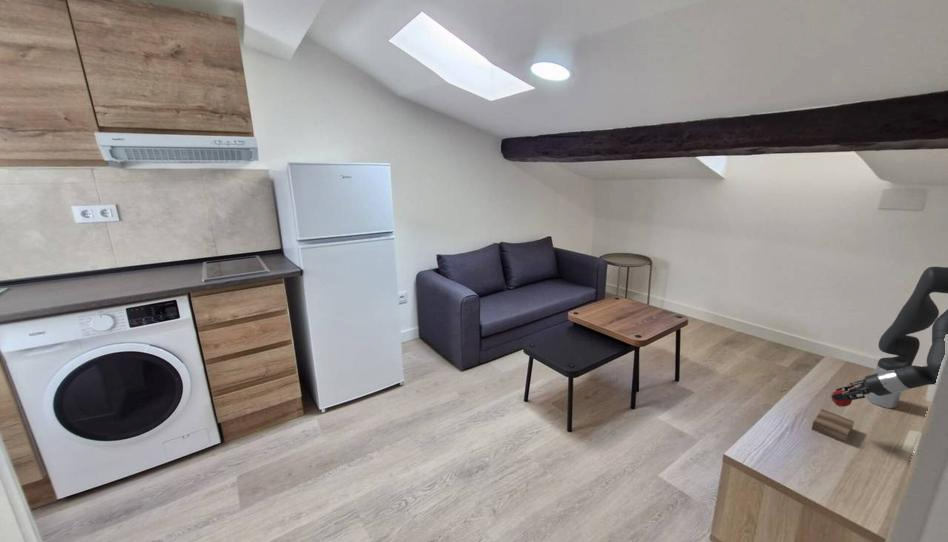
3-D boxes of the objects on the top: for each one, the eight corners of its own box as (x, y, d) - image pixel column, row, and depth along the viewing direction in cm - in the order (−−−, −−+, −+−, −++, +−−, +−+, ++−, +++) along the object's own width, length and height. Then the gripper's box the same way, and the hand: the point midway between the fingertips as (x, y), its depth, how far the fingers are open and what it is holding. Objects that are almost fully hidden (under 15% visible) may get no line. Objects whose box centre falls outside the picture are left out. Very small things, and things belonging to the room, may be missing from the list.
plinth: (819, 416, 160) (821, 409, 158) (851, 429, 152) (854, 421, 151) (811, 429, 153) (813, 421, 152) (844, 443, 145) (847, 434, 144)
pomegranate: (853, 411, 146) (858, 394, 143) (836, 410, 147) (840, 392, 144) (842, 402, 151) (847, 385, 149) (825, 401, 152) (830, 384, 150)
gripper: (882, 366, 142) (833, 379, 154) (875, 380, 134) (823, 393, 146) (899, 384, 139) (847, 396, 152) (892, 400, 131) (838, 411, 144)
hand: (835, 394), depth 149 cm, fingers closed on pomegranate, 5 cm apart
